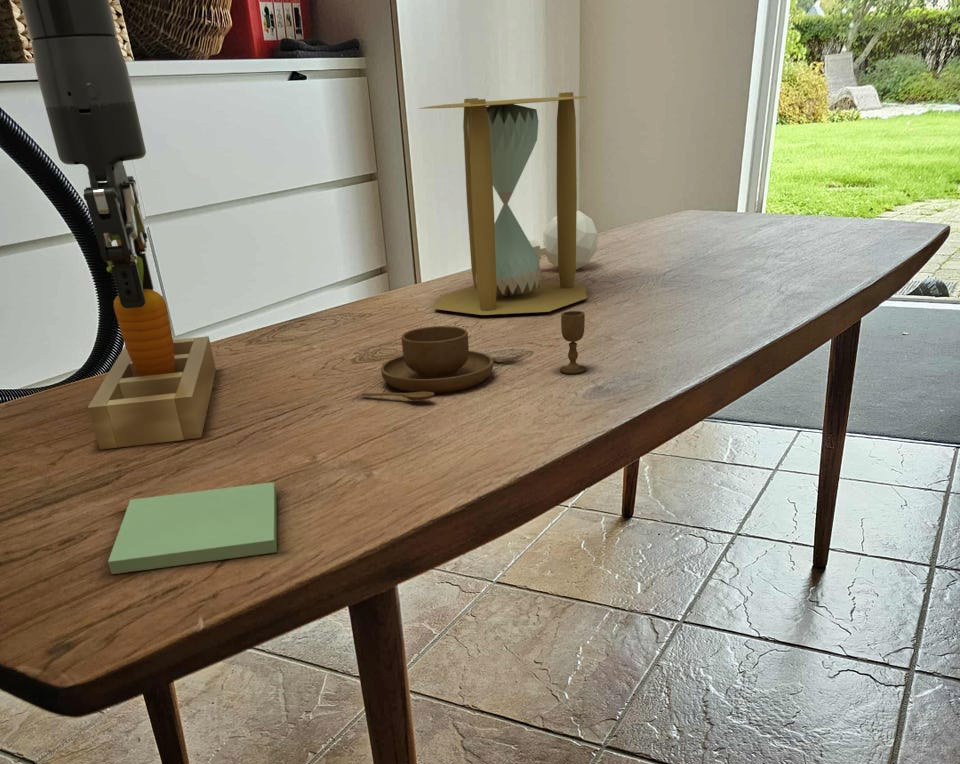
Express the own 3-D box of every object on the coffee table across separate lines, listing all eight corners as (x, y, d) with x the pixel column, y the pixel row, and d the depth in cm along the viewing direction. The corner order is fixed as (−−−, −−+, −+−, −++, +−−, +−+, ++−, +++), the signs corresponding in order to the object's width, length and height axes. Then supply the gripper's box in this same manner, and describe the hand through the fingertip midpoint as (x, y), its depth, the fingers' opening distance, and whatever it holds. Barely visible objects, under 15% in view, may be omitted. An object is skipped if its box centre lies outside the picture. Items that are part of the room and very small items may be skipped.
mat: (111, 574, 60) (107, 561, 60) (133, 511, 70) (129, 499, 69) (276, 552, 62) (274, 539, 61) (276, 493, 71) (274, 481, 70)
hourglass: (469, 283, 142) (459, 98, 129) (608, 284, 134) (611, 89, 121) (406, 316, 123) (385, 105, 110) (562, 320, 116) (560, 94, 103)
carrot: (186, 410, 92) (149, 252, 84) (136, 415, 91) (94, 257, 83) (191, 396, 96) (156, 245, 88) (143, 401, 95) (104, 249, 87)
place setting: (430, 355, 105) (425, 302, 102) (591, 366, 97) (592, 309, 94) (347, 399, 92) (339, 339, 89) (526, 416, 84) (525, 352, 81)
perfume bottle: (593, 249, 151) (523, 264, 151) (590, 194, 144) (517, 210, 144) (605, 274, 145) (532, 290, 146) (603, 219, 138) (527, 235, 139)
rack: (99, 450, 83) (87, 407, 80) (134, 380, 103) (125, 344, 101) (201, 438, 84) (192, 395, 82) (216, 371, 104) (208, 336, 102)
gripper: (61, 103, 85) (110, 290, 93) (26, 104, 72) (86, 319, 81) (143, 97, 86) (184, 284, 94) (122, 97, 73) (171, 311, 82)
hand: (138, 299), depth 88 cm, fingers open, 6 cm apart
